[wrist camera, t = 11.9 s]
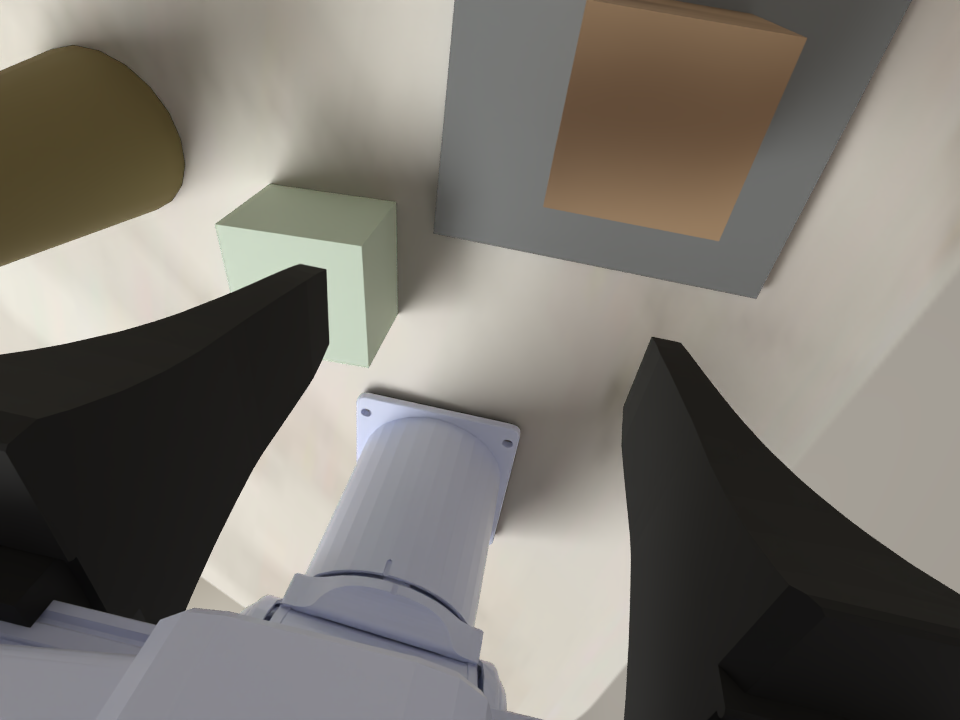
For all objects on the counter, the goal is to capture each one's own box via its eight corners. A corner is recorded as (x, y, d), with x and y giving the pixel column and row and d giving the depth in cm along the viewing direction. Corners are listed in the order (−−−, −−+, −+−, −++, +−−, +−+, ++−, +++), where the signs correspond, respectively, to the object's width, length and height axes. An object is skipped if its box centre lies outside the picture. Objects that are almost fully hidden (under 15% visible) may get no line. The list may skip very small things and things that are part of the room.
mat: (752, 290, 20) (756, 298, 20) (437, 226, 21) (433, 233, 21) (973, -143, 13) (987, -146, 13) (479, -222, 14) (475, -228, 13)
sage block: (398, 312, 24) (368, 367, 21) (288, 294, 24) (242, 346, 21) (397, 200, 21) (361, 246, 18) (271, 182, 21) (214, 223, 18)
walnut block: (691, 175, 18) (718, 241, 14) (554, 150, 18) (542, 207, 14) (752, 13, 15) (807, 38, 11) (589, -15, 15) (587, -1, 11)
